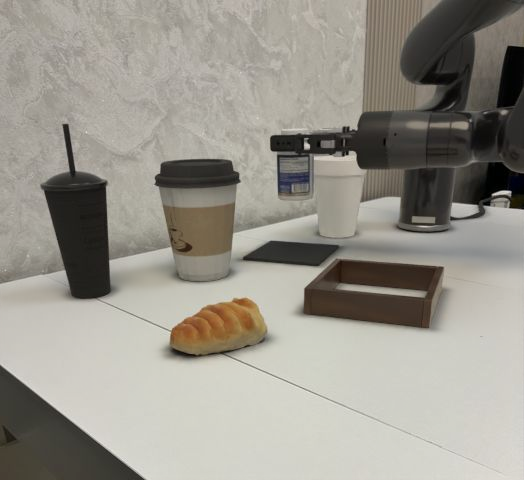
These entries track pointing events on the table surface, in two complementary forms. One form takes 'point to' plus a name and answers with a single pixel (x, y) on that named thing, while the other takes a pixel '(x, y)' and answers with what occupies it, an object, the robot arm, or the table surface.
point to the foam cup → (338, 194)
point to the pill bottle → (295, 172)
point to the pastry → (220, 328)
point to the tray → (375, 304)
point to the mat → (292, 253)
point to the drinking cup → (80, 226)
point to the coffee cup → (199, 215)
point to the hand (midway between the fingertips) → (278, 142)
